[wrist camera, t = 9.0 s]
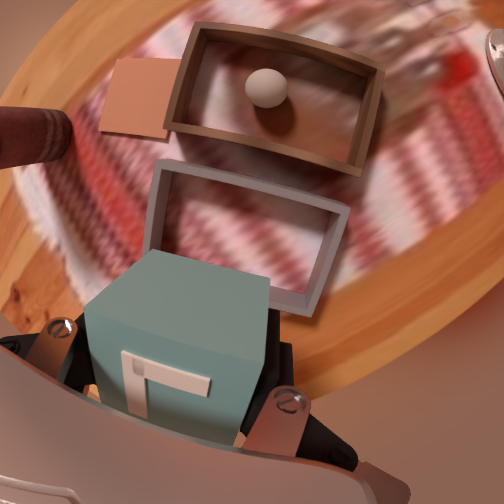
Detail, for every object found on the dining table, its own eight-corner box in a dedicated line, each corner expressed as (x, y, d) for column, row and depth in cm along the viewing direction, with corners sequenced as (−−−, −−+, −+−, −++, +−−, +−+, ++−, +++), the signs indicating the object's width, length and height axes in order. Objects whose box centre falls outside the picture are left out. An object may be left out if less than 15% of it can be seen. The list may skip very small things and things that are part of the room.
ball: (291, 80, 21) (293, 68, 17) (282, 115, 22) (283, 108, 19) (252, 72, 21) (248, 59, 17) (243, 106, 22) (237, 98, 19)
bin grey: (342, 202, 24) (351, 208, 21) (308, 301, 27) (311, 317, 25) (168, 158, 24) (155, 159, 21) (152, 260, 27) (140, 271, 25)
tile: (188, 61, 21) (186, 59, 20) (167, 139, 23) (165, 138, 23) (119, 59, 21) (117, 58, 20) (100, 130, 23) (98, 130, 23)
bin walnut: (374, 74, 20) (386, 65, 17) (350, 175, 23) (360, 177, 20) (203, 34, 20) (195, 21, 17) (174, 131, 23) (162, 129, 20)
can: (57, 172, 25) (-39, 195, 12) (34, 142, 24) (-54, 154, 11) (82, 129, 23) (-21, 131, 10) (56, 101, 22) (-36, 95, 9)
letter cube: (270, 278, 11) (264, 366, 6) (244, 367, 13) (229, 454, 8) (152, 248, 11) (81, 309, 6) (148, 340, 13) (102, 413, 8)
